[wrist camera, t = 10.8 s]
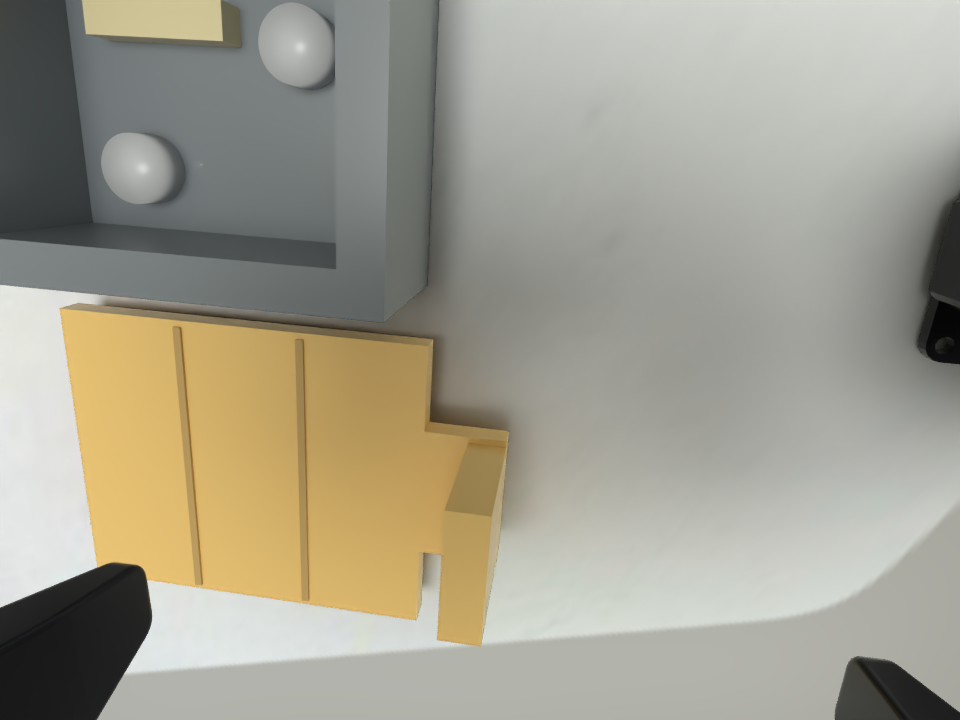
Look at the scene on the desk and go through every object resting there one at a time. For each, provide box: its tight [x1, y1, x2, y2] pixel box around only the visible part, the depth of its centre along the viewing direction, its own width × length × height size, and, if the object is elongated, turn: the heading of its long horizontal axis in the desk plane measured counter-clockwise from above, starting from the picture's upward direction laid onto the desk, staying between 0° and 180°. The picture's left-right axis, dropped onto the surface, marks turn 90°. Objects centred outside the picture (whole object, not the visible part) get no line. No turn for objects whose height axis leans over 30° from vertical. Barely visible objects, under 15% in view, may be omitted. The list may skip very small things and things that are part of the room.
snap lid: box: [60, 303, 509, 647], centre depth 19 cm, size 15×10×6 cm
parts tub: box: [0, 0, 439, 323], centre depth 16 cm, size 12×10×5 cm
